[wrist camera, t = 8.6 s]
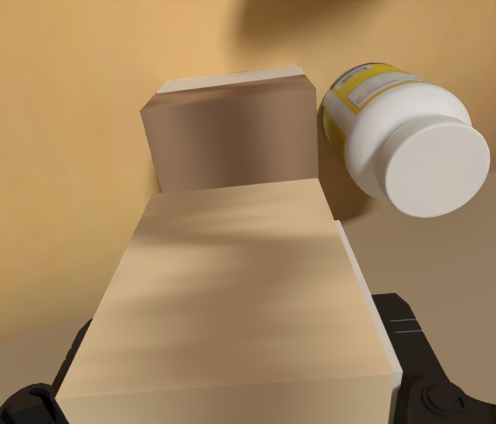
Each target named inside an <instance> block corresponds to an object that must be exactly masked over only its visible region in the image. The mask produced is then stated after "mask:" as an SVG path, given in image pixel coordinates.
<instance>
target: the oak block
mask: <svg viewBox="0 0 496 424" xmlns="http://www.w3.org/2000/svg"><path fill="white" fill-rule="evenodd" d="M393 380H394V372H393V370H392V367H391V364H390V362H389V359H388V357H387V354H386V352H385V349H384V347H383V344H382V341H381V339H380V336H379V334H378V331H377V329H376V326H375V324H374V321H373V318H372V316H371V313H370V311H369V308H368V306H367V303H366V300H365V298H364V295H363V293H362V290H361V288H360V285H359V283H358V280H357V277H356V275H355V272H354V270H353V267H352V265H351V262H350V259H349V257H348V254H347V252H346V249H345V247H344V244H343V242H342V239H341V236H340V234H339V231H338V229H337V226H336V224H335V221H334V219H333V216H332V213H331V211H330V208H329V206H328V203H327V201H326V198H325V195H324V193H323V190H322V188H321V185H320V183H319V180H318V178H314V179H304V180H294V181H284V182H274V183H264V184H254V185H244V186H234V187H224V188H214V189H204V190H194V191H184V192H174V193H164V194H154V195H152V196H151V198H150V200H149V202H148V204H147V206H146V208H145V211H144V213H143V215H142V217H141V219H140V221H139V223H138V225H137V227H136V229H135V232H134V234H133V236H132V238H131V240H130V242H129V244H128V246H127V248H126V250H125V253H124V255H123V257H122V259H121V261H120V263H119V265H118V267H117V269H116V271H115V274H114V276H113V278H112V280H111V282H110V284H109V286H108V288H107V290H106V292H105V294H104V297H103V299H102V301H101V303H100V305H99V307H98V309H97V311H96V313H95V315H94V318H93V320H92V322H91V324H90V326H89V328H88V330H87V332H86V334H85V336H84V339H83V341H82V343H81V345H80V347H79V349H78V351H77V353H76V355H75V357H74V360H73V362H72V364H71V366H70V368H69V370H68V372H67V374H66V376H65V378H64V380H63V383H62V385H61V387H60V389H59V391H58V393H57V395H56V397H55V400H56V401H57V403H58V405H59V407H60V408H61V410H62V412H63V413H64V415H65V417H66V419H67V420H68V422H69V424H388V419H389V411H390V403H391V395H392V387H393Z"/></svg>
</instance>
